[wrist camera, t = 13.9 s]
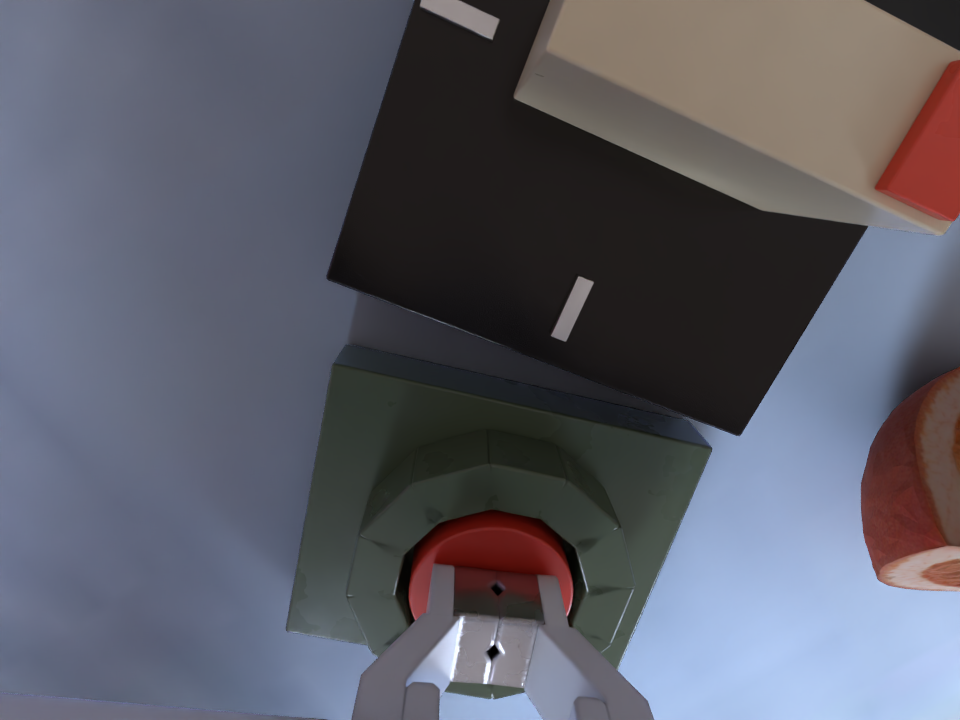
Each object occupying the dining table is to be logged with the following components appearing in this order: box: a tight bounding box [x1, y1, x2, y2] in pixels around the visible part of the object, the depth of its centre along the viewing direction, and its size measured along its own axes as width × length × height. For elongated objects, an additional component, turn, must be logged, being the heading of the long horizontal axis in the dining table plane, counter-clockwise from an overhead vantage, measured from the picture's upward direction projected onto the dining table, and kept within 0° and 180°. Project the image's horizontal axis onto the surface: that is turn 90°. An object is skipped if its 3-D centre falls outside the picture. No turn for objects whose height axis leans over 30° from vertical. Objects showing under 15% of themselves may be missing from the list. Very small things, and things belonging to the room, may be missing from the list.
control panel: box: [326, 0, 960, 436], centre depth 12 cm, size 11×10×3 cm
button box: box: [286, 344, 712, 699], centre depth 15 cm, size 10×8×4 cm
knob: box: [514, 0, 960, 236], centre depth 8 cm, size 6×2×5 cm, turn 68°
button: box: [409, 509, 573, 621], centre depth 14 cm, size 4×4×2 cm
